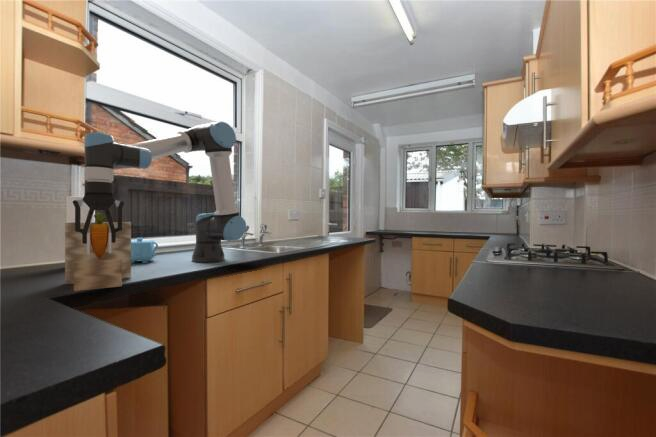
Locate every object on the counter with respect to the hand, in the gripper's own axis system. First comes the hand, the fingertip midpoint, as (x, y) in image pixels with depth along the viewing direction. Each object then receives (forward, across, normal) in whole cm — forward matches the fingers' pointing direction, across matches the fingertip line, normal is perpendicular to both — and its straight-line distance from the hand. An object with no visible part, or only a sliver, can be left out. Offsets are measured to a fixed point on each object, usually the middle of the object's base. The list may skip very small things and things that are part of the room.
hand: (99, 253), depth 101 cm
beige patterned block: (+10, 0, 0) cm, 10 cm away
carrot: (+2, 0, 0) cm, 2 cm away
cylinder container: (+10, +7, -42) cm, 44 cm away
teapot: (+11, -14, -44) cm, 48 cm away
